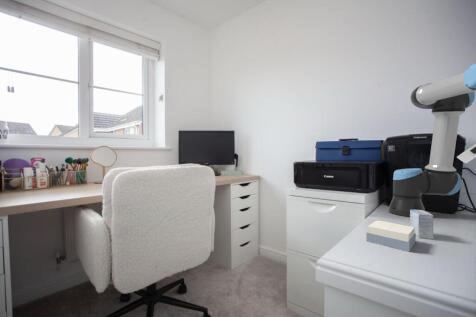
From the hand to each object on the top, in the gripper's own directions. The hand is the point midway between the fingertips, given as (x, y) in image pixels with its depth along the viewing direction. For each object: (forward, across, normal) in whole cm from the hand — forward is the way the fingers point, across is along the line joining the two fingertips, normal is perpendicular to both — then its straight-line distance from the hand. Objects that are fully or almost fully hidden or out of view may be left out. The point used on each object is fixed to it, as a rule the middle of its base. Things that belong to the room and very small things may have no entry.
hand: (461, 160), depth 74 cm
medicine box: (+27, 0, -12) cm, 30 cm away
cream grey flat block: (+31, -16, -8) cm, 36 cm away
